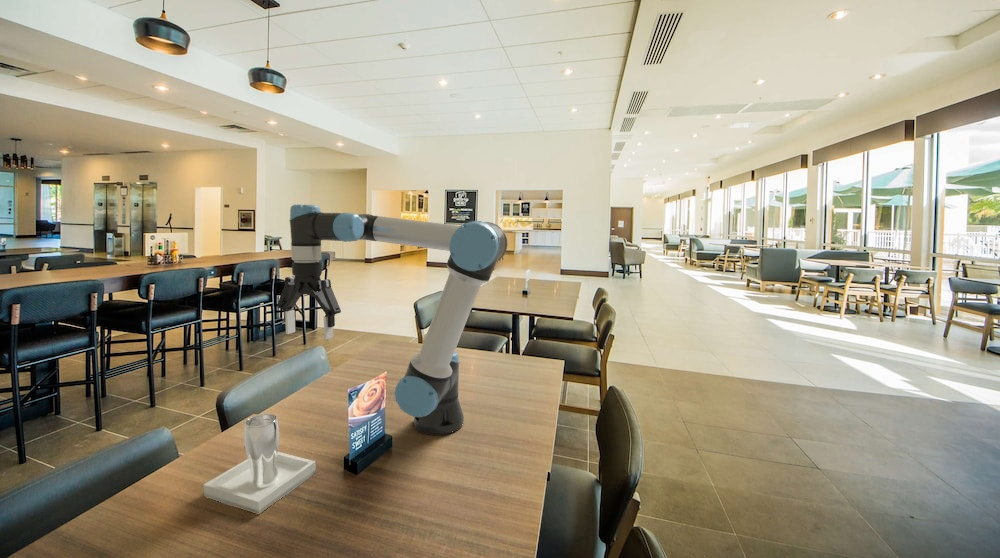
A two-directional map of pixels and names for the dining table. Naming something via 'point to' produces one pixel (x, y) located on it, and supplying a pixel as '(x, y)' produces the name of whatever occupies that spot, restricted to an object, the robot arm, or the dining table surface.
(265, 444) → the beer glass
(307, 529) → the dining table surface
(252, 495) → the tray
